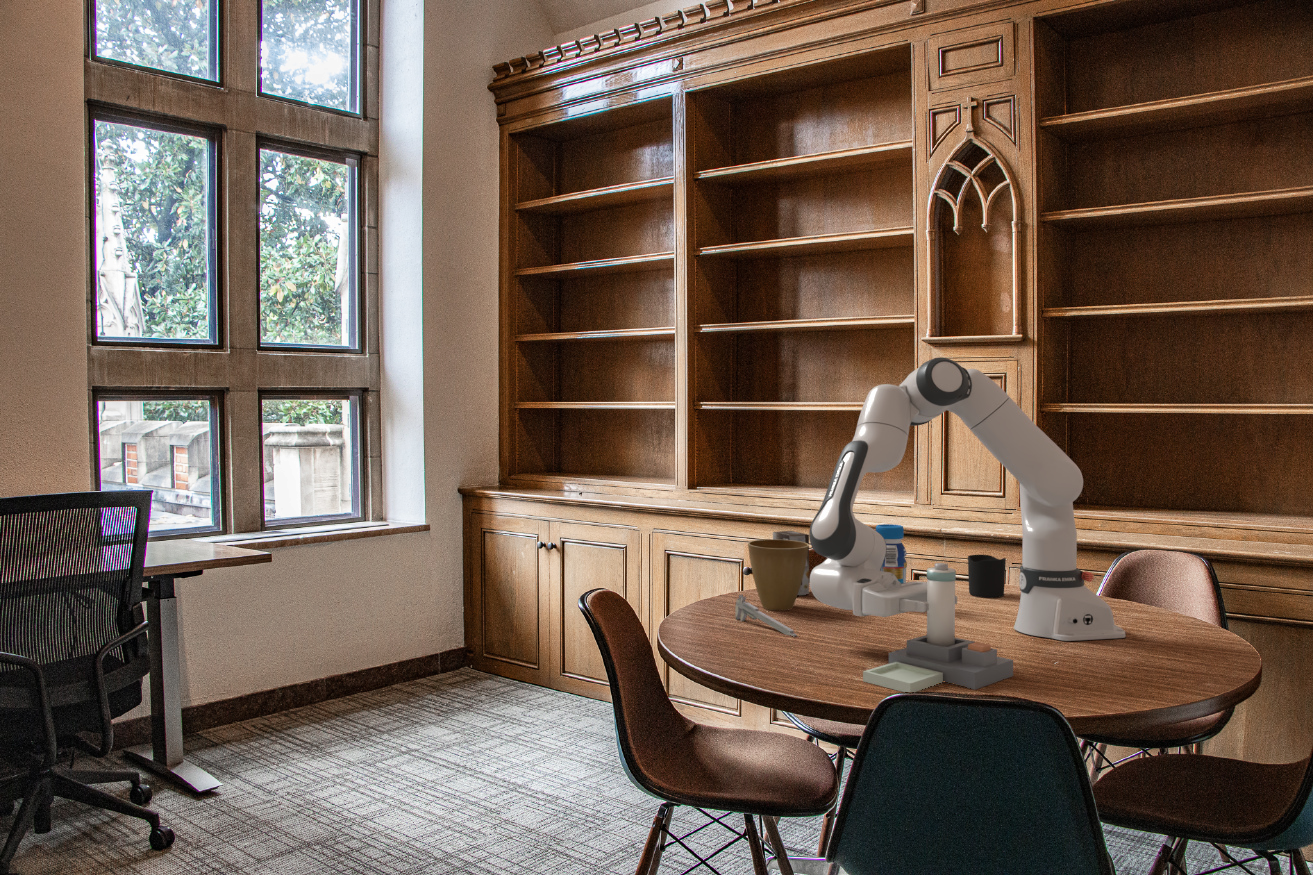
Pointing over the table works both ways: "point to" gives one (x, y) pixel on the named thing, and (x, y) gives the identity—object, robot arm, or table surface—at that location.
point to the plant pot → (778, 571)
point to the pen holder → (986, 576)
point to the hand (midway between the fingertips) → (941, 603)
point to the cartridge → (941, 605)
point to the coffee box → (805, 538)
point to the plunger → (979, 647)
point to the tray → (902, 677)
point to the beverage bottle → (894, 550)
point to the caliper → (758, 616)
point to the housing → (955, 662)
